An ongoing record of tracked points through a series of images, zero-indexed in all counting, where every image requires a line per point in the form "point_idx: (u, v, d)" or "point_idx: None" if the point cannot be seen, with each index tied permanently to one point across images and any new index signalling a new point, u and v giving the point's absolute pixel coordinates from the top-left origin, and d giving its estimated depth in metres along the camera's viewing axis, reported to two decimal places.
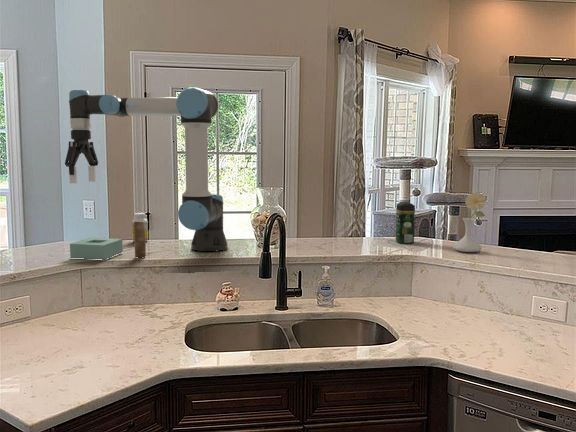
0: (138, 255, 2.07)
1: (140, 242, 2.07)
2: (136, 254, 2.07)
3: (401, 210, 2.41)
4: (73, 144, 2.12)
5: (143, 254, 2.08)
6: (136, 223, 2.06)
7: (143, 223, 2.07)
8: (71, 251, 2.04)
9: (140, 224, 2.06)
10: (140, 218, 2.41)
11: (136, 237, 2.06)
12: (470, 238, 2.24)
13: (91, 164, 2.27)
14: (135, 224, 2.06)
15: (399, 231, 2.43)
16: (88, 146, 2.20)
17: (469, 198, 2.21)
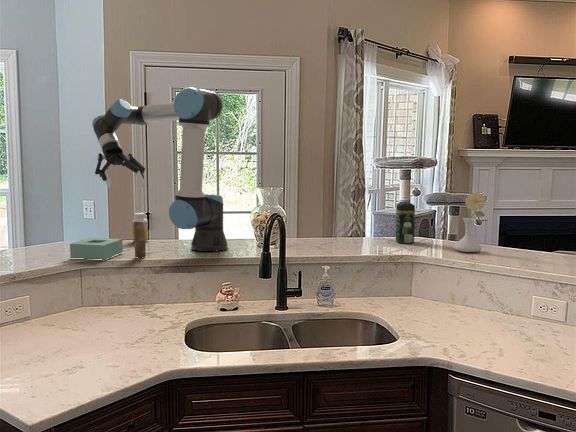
0: (138, 255, 2.07)
1: (140, 242, 2.07)
2: (136, 254, 2.07)
3: (401, 210, 2.41)
4: (99, 156, 2.16)
5: (143, 254, 2.08)
6: (136, 223, 2.06)
7: (143, 223, 2.07)
8: (71, 251, 2.04)
9: (140, 224, 2.06)
10: (140, 218, 2.41)
11: (136, 237, 2.06)
12: (470, 238, 2.24)
13: (138, 172, 2.22)
14: (135, 224, 2.06)
15: (399, 231, 2.43)
16: (121, 155, 2.21)
17: (469, 198, 2.21)
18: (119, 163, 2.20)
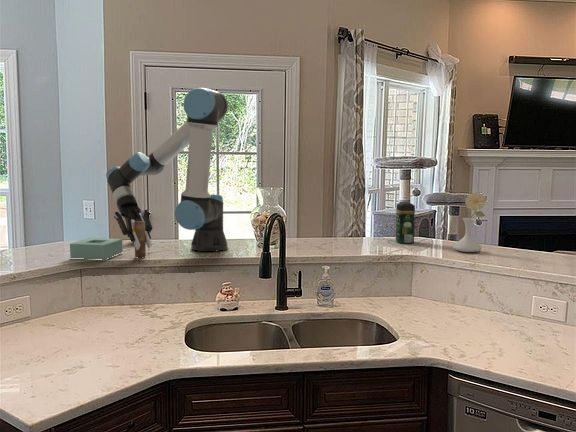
0: (138, 255, 2.07)
1: (140, 242, 2.07)
2: (136, 254, 2.07)
3: (401, 210, 2.41)
4: (116, 215, 2.08)
5: (143, 254, 2.08)
6: (136, 223, 2.06)
7: (143, 223, 2.07)
8: (71, 251, 2.04)
9: (140, 225, 2.06)
10: None
11: None
12: (470, 238, 2.24)
13: None
14: (135, 224, 2.06)
15: (399, 231, 2.43)
16: (136, 210, 2.13)
17: (469, 198, 2.21)
18: (134, 218, 2.13)
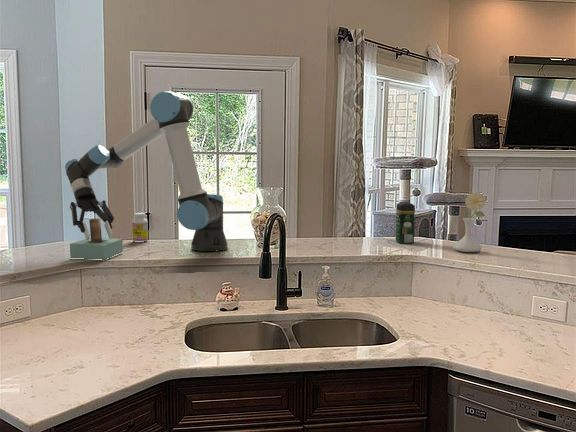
0: None
1: (96, 240, 2.08)
2: None
3: (401, 210, 2.41)
4: (71, 205, 2.09)
5: None
6: (91, 221, 2.06)
7: (98, 221, 2.08)
8: (71, 251, 2.04)
9: (96, 222, 2.07)
10: (140, 218, 2.41)
11: (92, 235, 2.07)
12: (470, 238, 2.24)
13: (106, 221, 2.13)
14: (90, 222, 2.07)
15: (399, 231, 2.43)
16: (94, 201, 2.14)
17: (469, 198, 2.21)
18: (91, 209, 2.14)
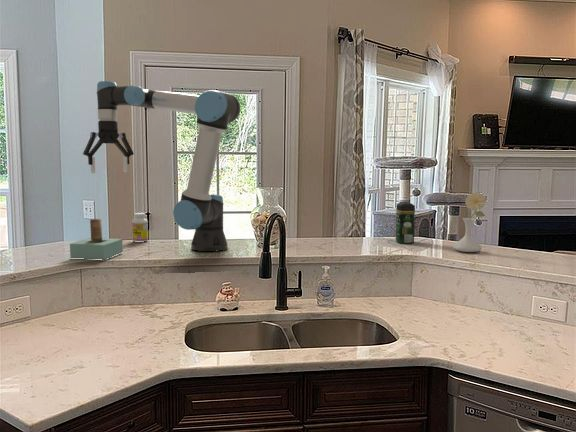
0: None
1: (97, 240, 2.08)
2: None
3: (401, 210, 2.41)
4: (92, 135, 2.17)
5: None
6: (92, 221, 2.07)
7: (99, 221, 2.08)
8: (71, 251, 2.04)
9: (96, 222, 2.07)
10: (140, 218, 2.41)
11: (92, 235, 2.08)
12: (470, 238, 2.24)
13: (125, 155, 2.27)
14: (91, 222, 2.07)
15: (399, 231, 2.43)
16: (114, 137, 2.22)
17: (469, 198, 2.21)
18: (110, 143, 2.23)
